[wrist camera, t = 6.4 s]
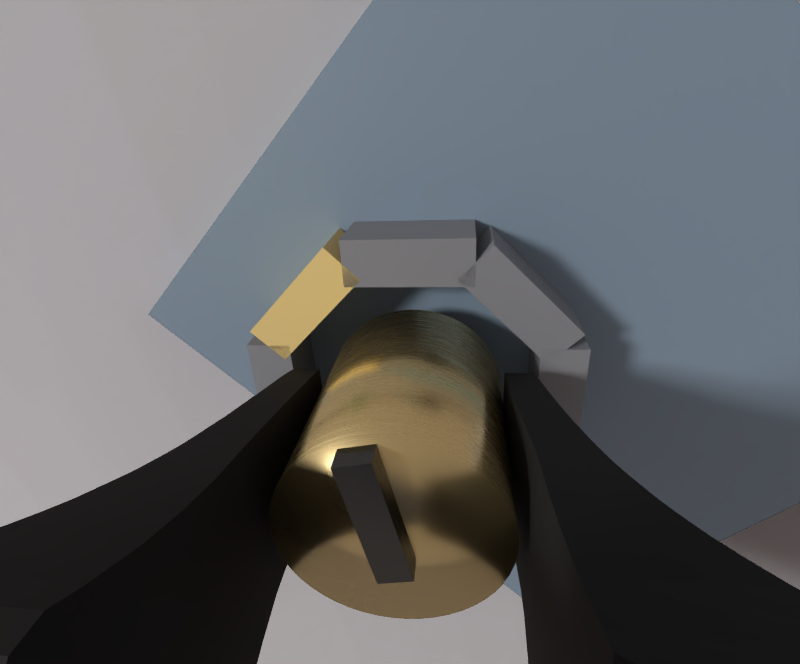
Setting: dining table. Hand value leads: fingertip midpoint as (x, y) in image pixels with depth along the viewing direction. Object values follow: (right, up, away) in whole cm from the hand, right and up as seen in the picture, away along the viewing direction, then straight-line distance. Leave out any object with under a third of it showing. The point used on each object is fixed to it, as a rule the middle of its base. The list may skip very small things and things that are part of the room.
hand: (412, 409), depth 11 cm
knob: (0, 0, +1) cm, 1 cm away
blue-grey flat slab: (+4, +2, +2) cm, 5 cm away
